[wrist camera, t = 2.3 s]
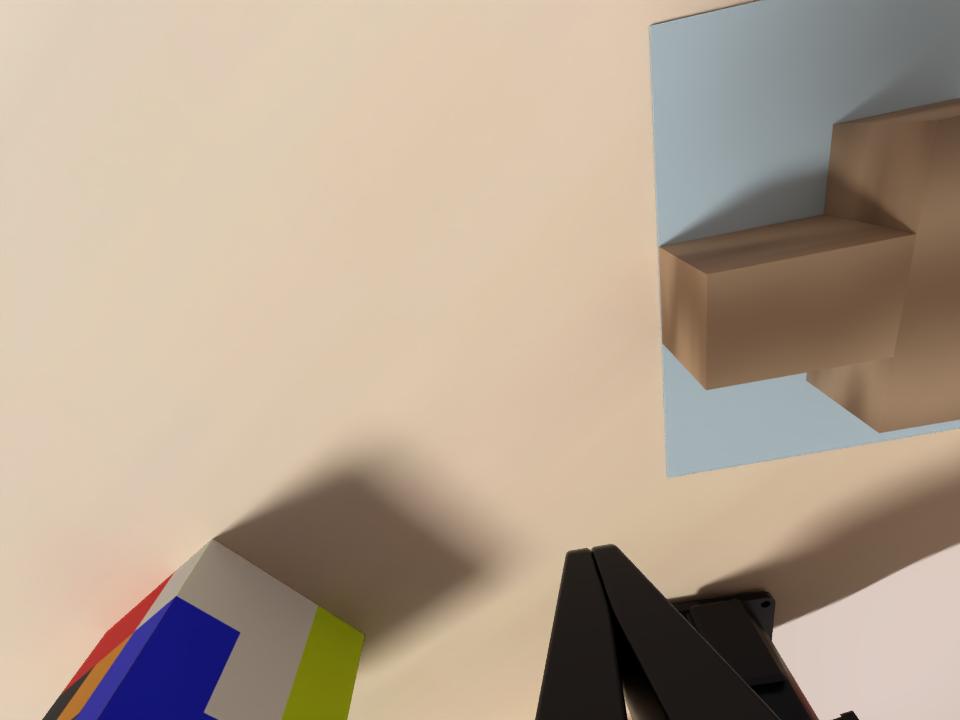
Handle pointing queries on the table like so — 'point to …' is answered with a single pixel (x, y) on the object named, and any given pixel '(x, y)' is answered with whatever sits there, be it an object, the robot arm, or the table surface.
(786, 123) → the mat
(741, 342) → the tee
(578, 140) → the table surface
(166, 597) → the puzzle toy
